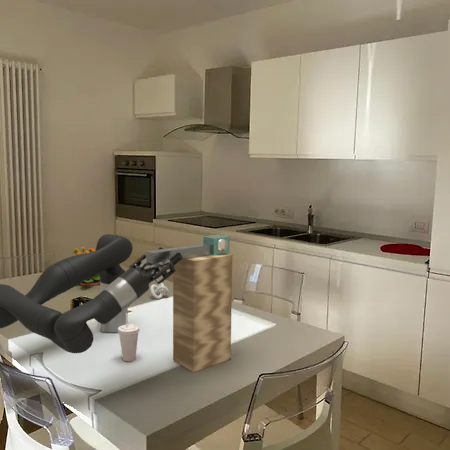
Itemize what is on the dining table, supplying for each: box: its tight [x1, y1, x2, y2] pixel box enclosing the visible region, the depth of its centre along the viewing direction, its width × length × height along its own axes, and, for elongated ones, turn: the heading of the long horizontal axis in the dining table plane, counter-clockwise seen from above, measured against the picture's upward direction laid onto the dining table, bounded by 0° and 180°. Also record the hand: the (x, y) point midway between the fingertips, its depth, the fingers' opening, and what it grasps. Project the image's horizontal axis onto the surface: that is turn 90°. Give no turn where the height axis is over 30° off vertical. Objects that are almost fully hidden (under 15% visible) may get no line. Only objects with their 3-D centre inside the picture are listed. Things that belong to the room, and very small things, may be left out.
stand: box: [172, 253, 233, 373], centre depth 140 cm, size 14×10×32 cm
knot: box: [149, 282, 170, 300], centre depth 205 cm, size 8×8×6 cm
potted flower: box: [59, 246, 100, 287], centre depth 224 cm, size 25×24×18 cm
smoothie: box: [117, 313, 141, 362], centre depth 141 cm, size 6×6×14 cm
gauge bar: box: [146, 234, 231, 264], centre depth 134 cm, size 26×6×5 cm, turn 131°
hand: (171, 252), depth 131 cm, fingers open, 8 cm apart
